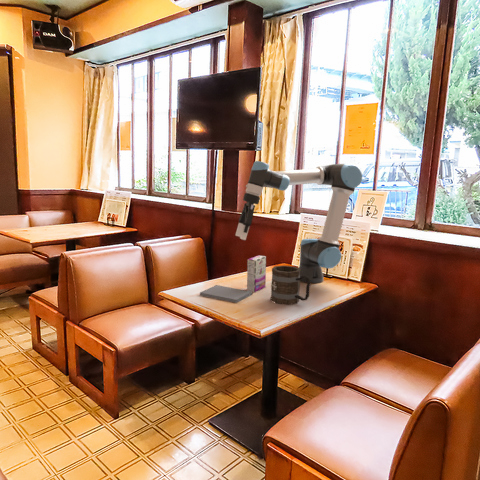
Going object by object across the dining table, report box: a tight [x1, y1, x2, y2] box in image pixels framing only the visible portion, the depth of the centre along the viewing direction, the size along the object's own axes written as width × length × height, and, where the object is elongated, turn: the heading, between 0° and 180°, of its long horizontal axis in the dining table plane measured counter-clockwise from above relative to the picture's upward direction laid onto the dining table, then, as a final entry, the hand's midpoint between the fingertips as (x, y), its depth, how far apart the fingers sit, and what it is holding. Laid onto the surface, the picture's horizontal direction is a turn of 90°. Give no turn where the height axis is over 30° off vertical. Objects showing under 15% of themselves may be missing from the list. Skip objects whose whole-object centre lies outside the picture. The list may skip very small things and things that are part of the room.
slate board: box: [199, 284, 253, 304], centre depth 194 cm, size 20×15×2 cm
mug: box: [270, 265, 312, 306], centre depth 186 cm, size 20×14×15 cm
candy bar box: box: [246, 255, 267, 293], centre depth 204 cm, size 11×5×16 cm, turn 148°
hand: (240, 237), depth 191 cm, fingers open, 13 cm apart
